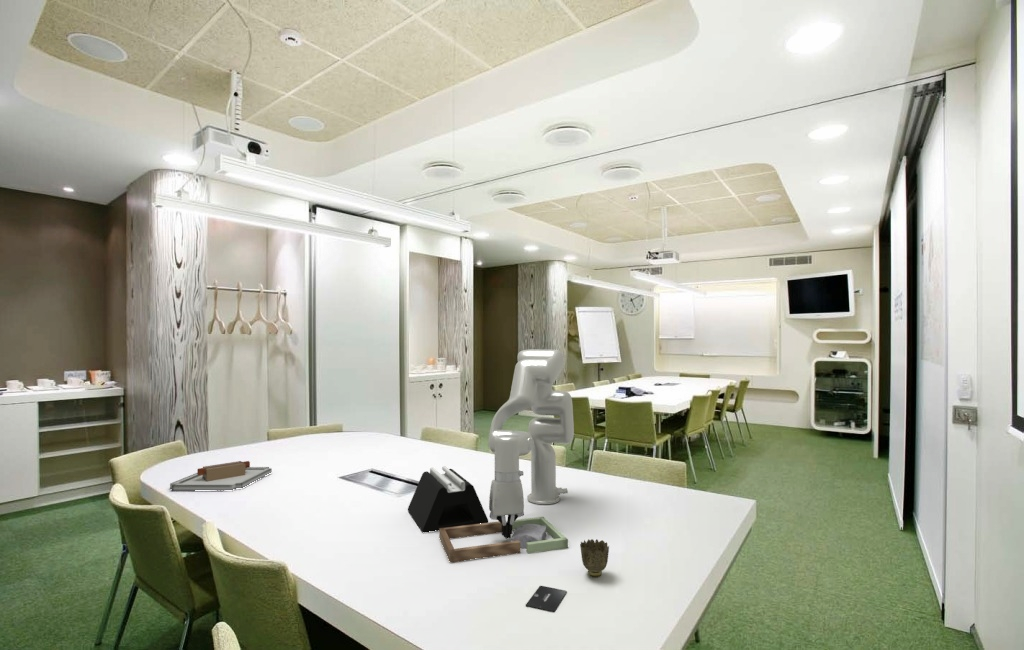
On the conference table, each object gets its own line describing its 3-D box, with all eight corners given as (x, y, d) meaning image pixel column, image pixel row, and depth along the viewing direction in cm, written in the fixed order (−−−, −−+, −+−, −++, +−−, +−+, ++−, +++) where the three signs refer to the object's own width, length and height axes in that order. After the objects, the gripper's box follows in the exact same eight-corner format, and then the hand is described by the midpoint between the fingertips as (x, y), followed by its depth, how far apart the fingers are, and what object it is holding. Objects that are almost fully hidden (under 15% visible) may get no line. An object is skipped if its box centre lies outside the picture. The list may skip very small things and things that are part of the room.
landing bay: (543, 524, 163) (543, 516, 164) (568, 547, 144) (567, 539, 145) (507, 528, 160) (507, 520, 160) (528, 553, 141) (528, 544, 141)
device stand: (422, 534, 156) (422, 486, 157) (407, 512, 177) (407, 470, 177) (488, 523, 165) (488, 478, 166) (466, 503, 186) (466, 463, 186)
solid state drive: (525, 607, 112) (525, 604, 112) (540, 588, 122) (540, 585, 122) (554, 614, 110) (554, 611, 110) (567, 593, 119) (567, 590, 119)
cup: (577, 569, 131) (577, 539, 131) (604, 568, 131) (604, 538, 131) (584, 583, 123) (583, 550, 123) (612, 581, 124) (612, 549, 124)
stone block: (511, 554, 144) (544, 549, 143) (508, 537, 145) (540, 533, 143) (518, 540, 156) (548, 535, 154) (515, 524, 157) (545, 520, 155)
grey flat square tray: (237, 493, 201) (238, 474, 201) (165, 492, 202) (166, 474, 202) (274, 473, 231) (274, 457, 231) (211, 473, 232) (211, 457, 232)
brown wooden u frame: (502, 530, 158) (502, 520, 158) (520, 552, 141) (520, 542, 141) (439, 538, 152) (439, 528, 152) (449, 562, 135) (449, 551, 135)
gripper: (525, 471, 156) (526, 529, 155) (480, 475, 151) (480, 535, 151) (533, 477, 149) (534, 538, 148) (486, 481, 144) (486, 544, 143)
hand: (506, 536), depth 149 cm, fingers closed
